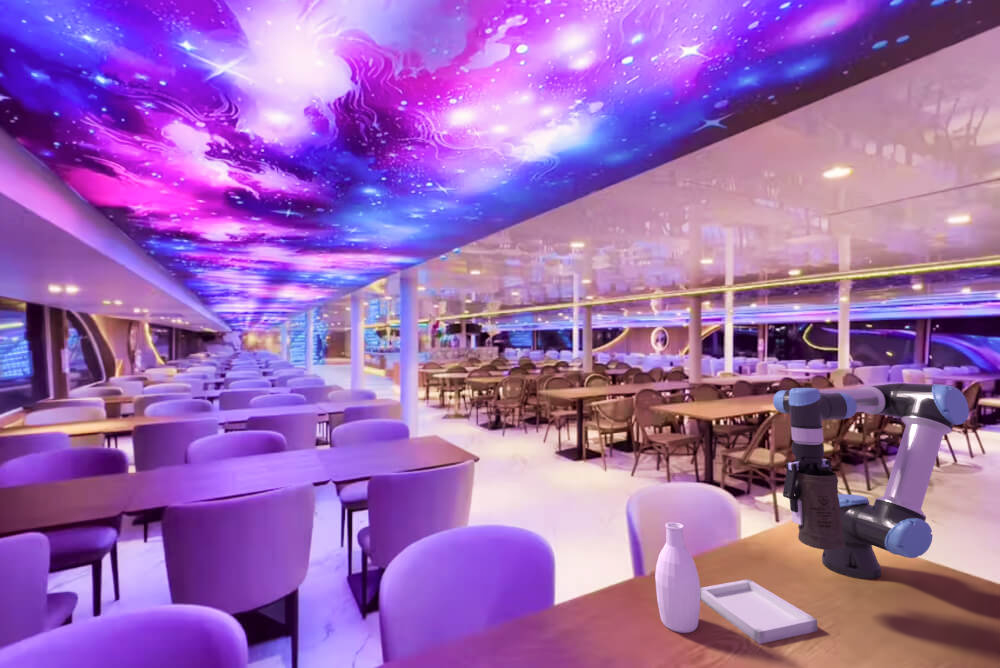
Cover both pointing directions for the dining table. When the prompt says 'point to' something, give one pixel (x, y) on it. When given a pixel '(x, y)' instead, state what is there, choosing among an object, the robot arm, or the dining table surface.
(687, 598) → the bottle
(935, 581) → the dining table surface
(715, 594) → the tray
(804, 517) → the beer stein
